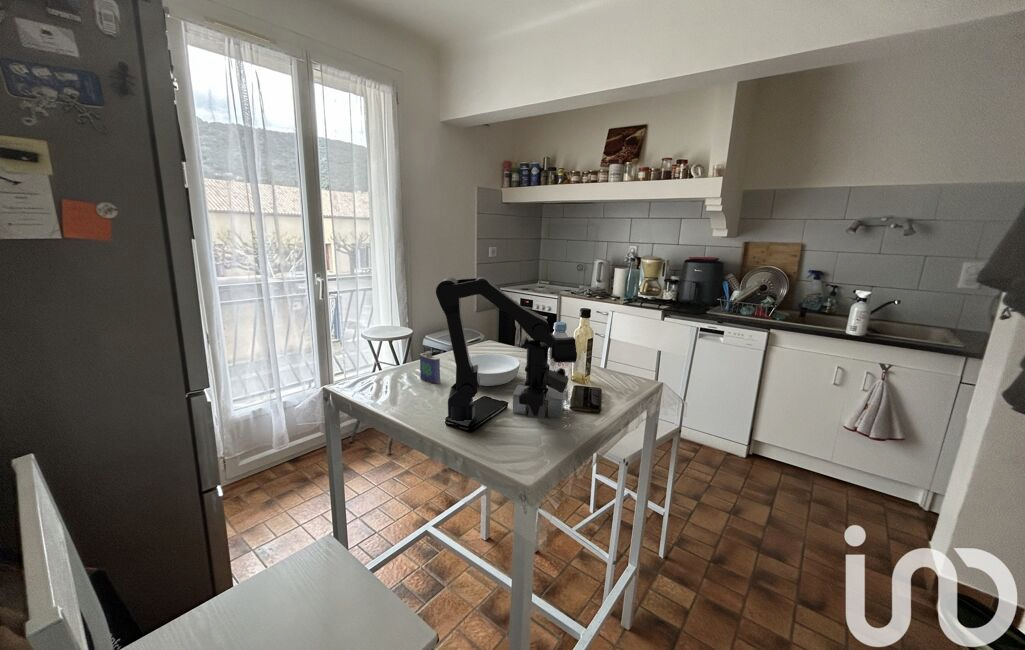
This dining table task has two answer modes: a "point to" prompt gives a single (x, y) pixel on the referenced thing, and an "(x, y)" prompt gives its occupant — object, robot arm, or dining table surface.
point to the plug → (541, 411)
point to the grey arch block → (552, 395)
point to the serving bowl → (495, 368)
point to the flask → (429, 368)
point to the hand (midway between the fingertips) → (535, 415)
